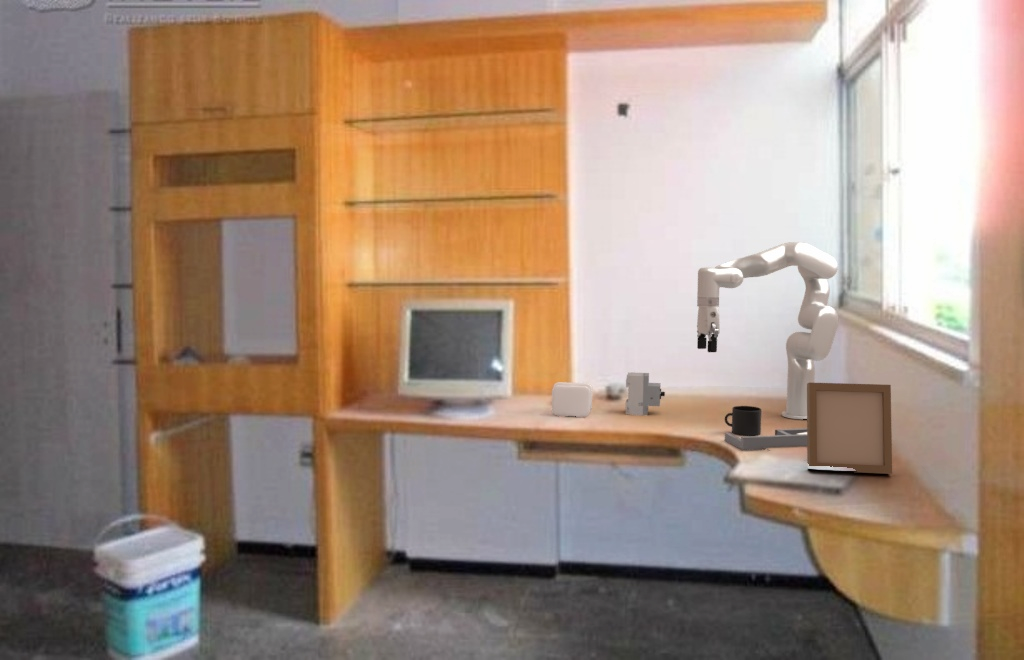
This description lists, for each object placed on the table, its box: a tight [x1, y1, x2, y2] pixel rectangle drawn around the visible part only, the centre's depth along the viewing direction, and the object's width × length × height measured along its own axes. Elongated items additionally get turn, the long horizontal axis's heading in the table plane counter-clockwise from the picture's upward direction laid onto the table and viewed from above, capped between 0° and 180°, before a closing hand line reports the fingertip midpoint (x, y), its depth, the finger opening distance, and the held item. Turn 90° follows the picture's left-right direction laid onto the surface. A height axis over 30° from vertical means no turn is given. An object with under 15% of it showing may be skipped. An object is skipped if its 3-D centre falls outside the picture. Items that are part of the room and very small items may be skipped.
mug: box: [724, 405, 762, 437], centre depth 287 cm, size 9×12×9 cm
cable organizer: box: [551, 381, 593, 418], centre depth 320 cm, size 15×11×12 cm
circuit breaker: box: [625, 372, 666, 416], centre depth 321 cm, size 8×14×15 cm, turn 78°
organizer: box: [724, 427, 807, 451], centre depth 274 cm, size 31×14×4 cm, turn 100°
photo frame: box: [806, 382, 893, 475], centre depth 243 cm, size 15×22×25 cm
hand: (706, 350), depth 303 cm, fingers open, 9 cm apart
